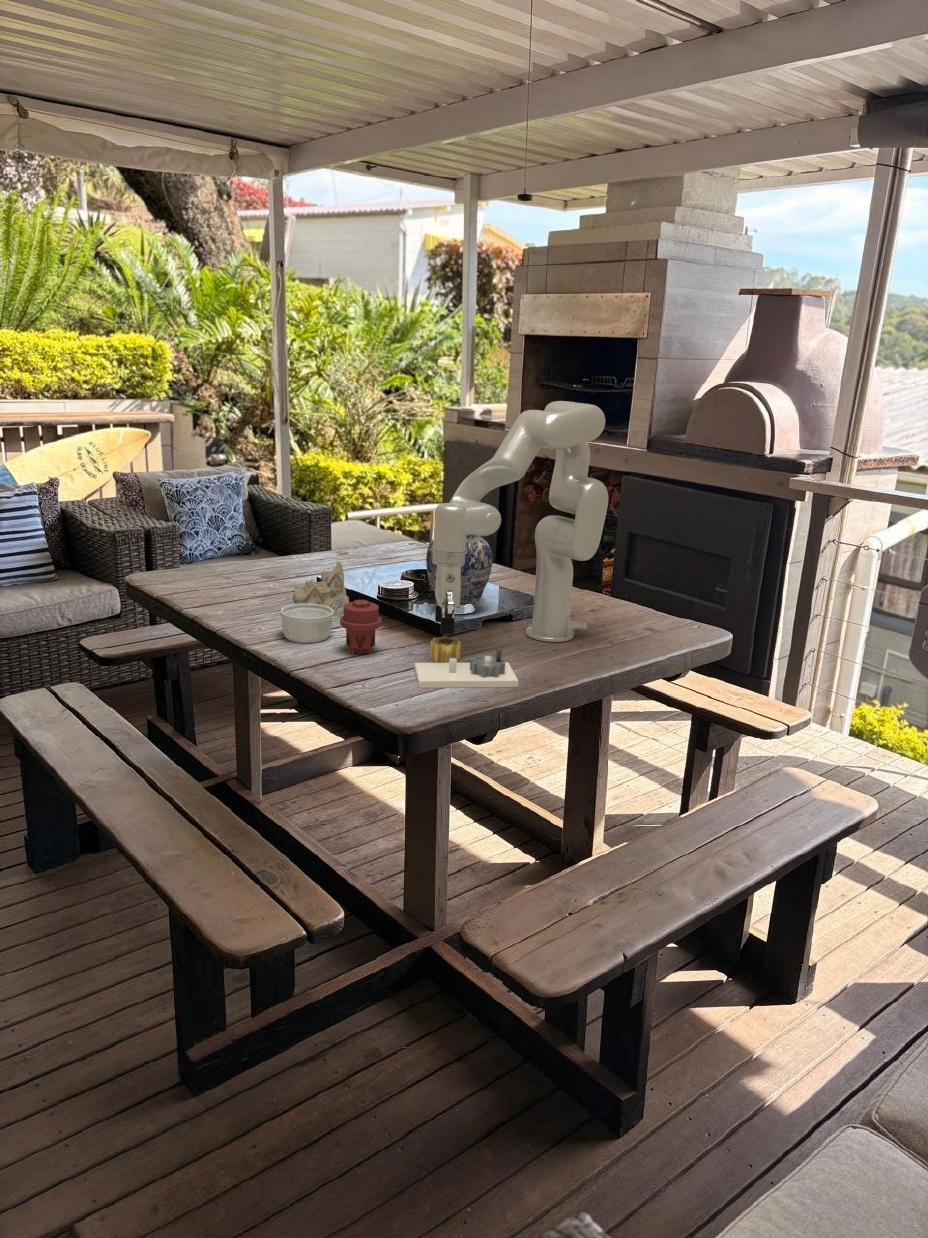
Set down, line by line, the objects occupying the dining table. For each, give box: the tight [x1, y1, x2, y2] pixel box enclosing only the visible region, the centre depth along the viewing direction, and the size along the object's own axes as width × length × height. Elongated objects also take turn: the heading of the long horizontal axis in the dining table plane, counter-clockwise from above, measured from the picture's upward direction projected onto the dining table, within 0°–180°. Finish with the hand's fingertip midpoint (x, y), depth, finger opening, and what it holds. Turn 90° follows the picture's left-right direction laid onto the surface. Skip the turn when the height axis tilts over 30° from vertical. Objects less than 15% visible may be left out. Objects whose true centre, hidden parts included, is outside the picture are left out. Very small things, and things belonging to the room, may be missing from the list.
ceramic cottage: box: [292, 560, 350, 618], centre depth 253 cm, size 16×16×15 cm
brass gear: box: [429, 635, 462, 663], centre depth 219 cm, size 7×7×4 cm
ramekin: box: [279, 603, 334, 644], centre depth 230 cm, size 13×13×7 cm
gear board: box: [414, 647, 519, 689], centre depth 207 cm, size 22×12×7 cm, turn 98°
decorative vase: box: [425, 535, 493, 605], centre depth 256 cm, size 21×19×28 cm
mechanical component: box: [339, 599, 383, 654], centre depth 221 cm, size 12×10×10 cm
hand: (444, 627), depth 217 cm, fingers open, 9 cm apart
